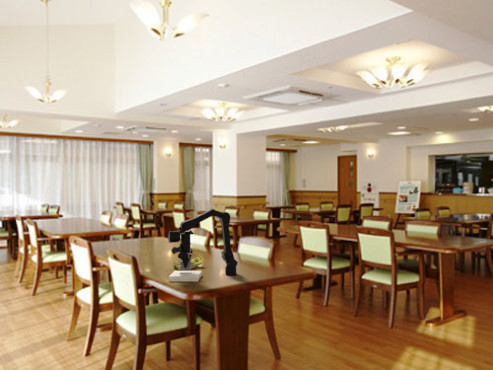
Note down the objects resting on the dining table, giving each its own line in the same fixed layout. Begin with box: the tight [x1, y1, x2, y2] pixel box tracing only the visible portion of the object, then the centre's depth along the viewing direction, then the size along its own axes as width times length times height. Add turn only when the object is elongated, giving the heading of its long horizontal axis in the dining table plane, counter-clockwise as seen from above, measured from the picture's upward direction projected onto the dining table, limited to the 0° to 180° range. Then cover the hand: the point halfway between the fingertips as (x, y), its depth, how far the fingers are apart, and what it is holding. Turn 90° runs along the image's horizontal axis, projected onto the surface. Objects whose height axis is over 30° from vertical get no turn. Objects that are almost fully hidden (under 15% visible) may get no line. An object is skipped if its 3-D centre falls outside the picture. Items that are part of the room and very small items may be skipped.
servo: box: [177, 259, 195, 271], centre depth 253 cm, size 10×4×6 cm, turn 88°
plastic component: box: [172, 255, 205, 271], centre depth 286 cm, size 20×7×10 cm
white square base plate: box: [168, 270, 203, 282], centre depth 253 cm, size 17×16×3 cm
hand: (186, 267), depth 253 cm, fingers closed on servo, 4 cm apart
